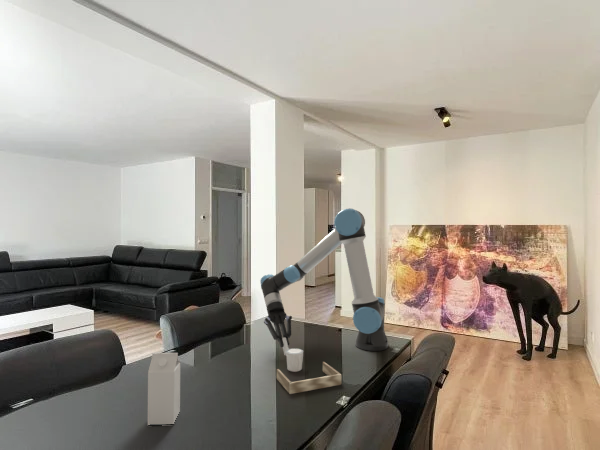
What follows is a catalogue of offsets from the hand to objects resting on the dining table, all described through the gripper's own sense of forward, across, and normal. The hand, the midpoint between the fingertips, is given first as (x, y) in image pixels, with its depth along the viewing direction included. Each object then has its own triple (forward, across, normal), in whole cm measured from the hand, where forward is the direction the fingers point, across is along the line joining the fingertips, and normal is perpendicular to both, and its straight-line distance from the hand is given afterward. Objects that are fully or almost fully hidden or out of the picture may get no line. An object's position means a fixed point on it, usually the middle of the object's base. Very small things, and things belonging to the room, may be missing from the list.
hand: (287, 353), depth 150 cm
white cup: (+8, 0, +3) cm, 9 cm away
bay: (+17, 0, +13) cm, 21 cm away
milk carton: (+23, +49, +18) cm, 57 cm away
